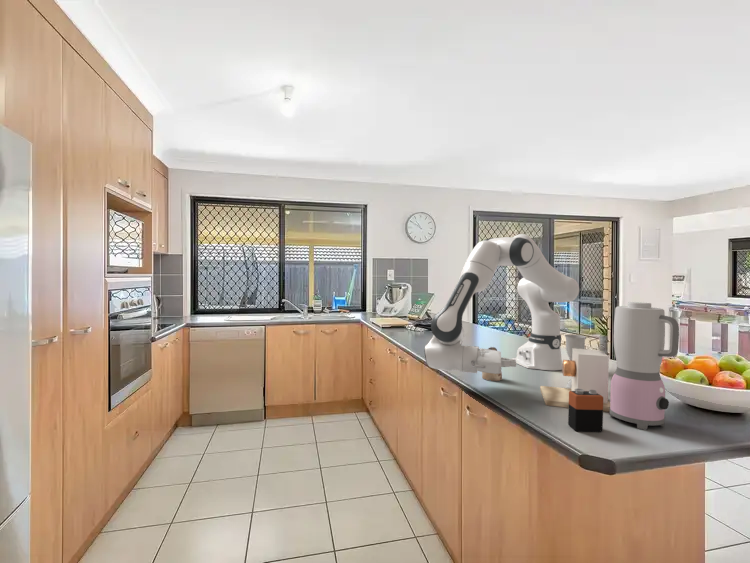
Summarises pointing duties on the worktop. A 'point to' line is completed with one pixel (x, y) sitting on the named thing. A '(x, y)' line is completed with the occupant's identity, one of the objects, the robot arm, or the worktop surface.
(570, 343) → the chalice
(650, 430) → the worktop surface
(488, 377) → the figurine
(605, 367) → the switch box
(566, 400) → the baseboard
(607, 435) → the worktop surface
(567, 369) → the knob
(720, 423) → the worktop surface
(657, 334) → the blender
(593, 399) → the battery
